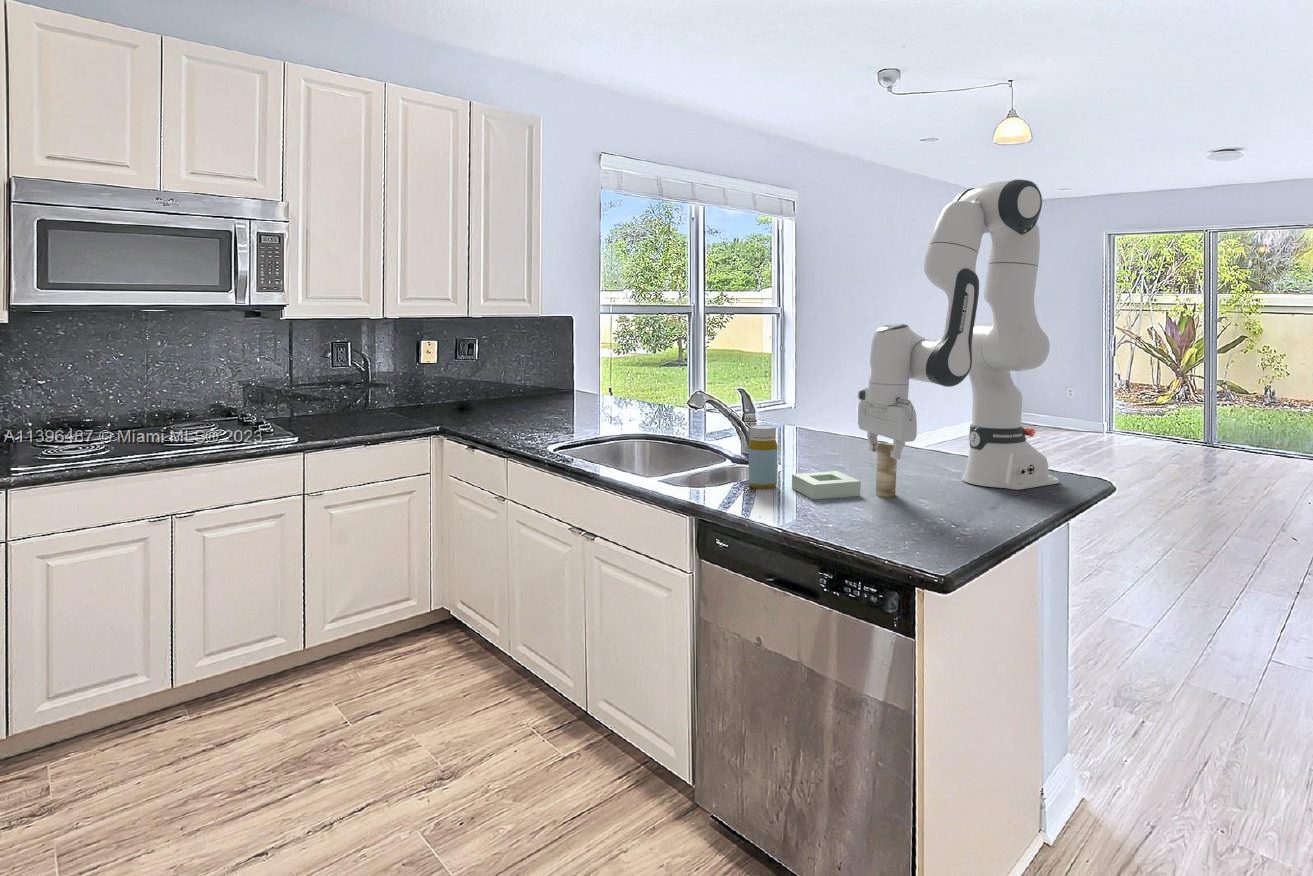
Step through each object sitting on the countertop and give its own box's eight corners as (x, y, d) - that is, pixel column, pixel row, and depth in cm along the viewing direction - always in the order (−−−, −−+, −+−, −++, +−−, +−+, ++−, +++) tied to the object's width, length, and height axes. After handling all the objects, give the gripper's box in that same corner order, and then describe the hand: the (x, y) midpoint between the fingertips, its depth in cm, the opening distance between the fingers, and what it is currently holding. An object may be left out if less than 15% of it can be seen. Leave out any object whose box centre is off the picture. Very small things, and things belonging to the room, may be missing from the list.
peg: (889, 492, 185) (890, 442, 183) (899, 496, 181) (900, 445, 179) (872, 493, 184) (873, 443, 182) (882, 497, 180) (883, 446, 178)
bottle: (758, 482, 198) (758, 423, 196) (782, 485, 194) (782, 426, 191) (743, 487, 193) (743, 427, 190) (767, 491, 188) (768, 429, 186)
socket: (836, 484, 194) (836, 470, 193) (860, 495, 182) (860, 481, 182) (791, 488, 191) (792, 474, 190) (813, 499, 179) (813, 484, 179)
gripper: (926, 400, 169) (922, 462, 172) (877, 391, 189) (874, 447, 191) (900, 400, 168) (896, 463, 170) (854, 391, 187) (851, 448, 190)
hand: (884, 454), depth 181 cm, fingers open, 8 cm apart
